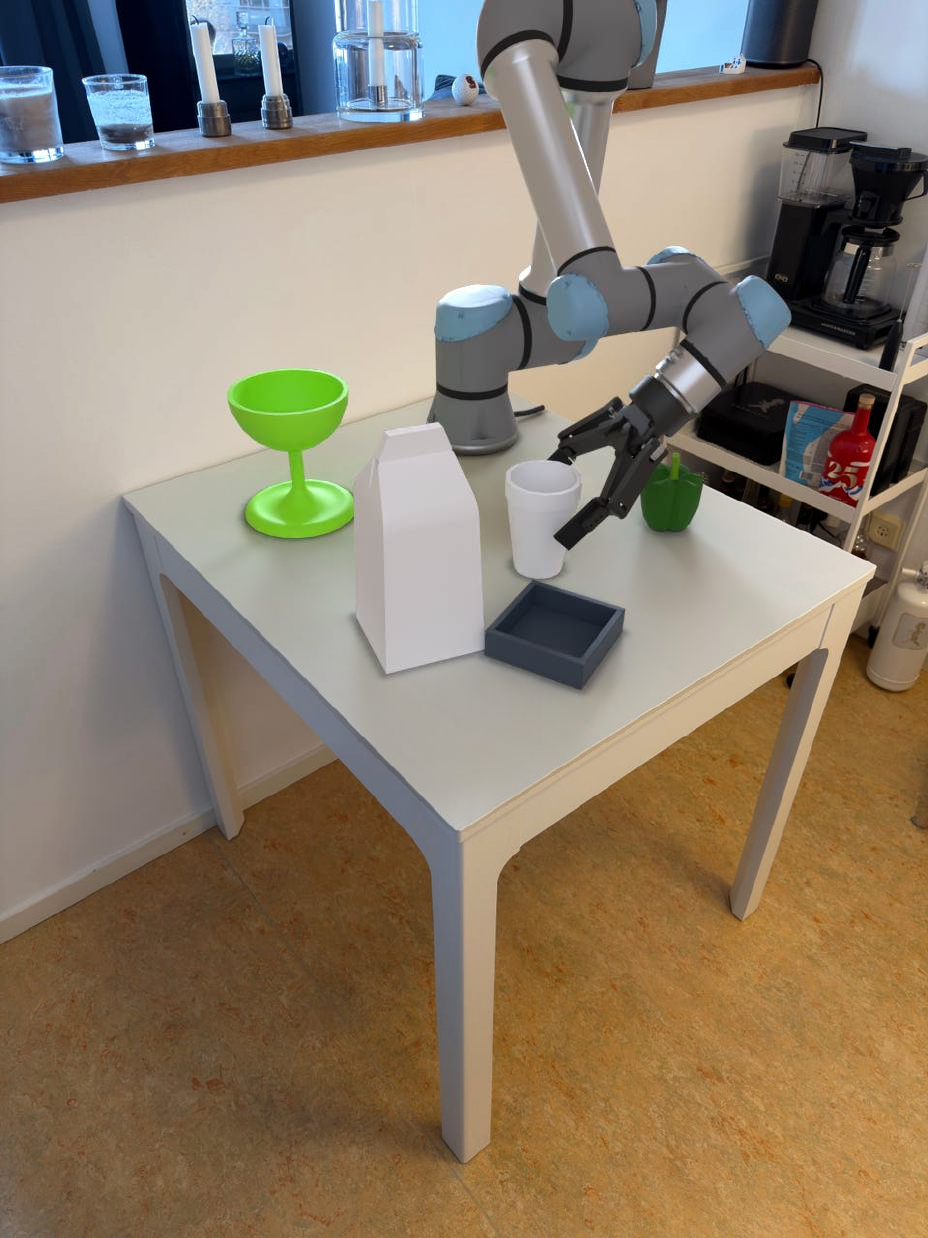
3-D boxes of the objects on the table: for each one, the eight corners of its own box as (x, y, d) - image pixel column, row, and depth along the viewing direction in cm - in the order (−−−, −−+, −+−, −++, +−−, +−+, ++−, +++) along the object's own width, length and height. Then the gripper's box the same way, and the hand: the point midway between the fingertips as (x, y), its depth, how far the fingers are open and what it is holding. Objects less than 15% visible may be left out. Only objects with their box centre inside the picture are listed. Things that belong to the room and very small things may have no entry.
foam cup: (521, 540, 123) (526, 453, 115) (584, 557, 120) (593, 469, 112) (490, 573, 116) (492, 484, 109) (555, 593, 113) (562, 502, 105)
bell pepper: (682, 545, 122) (694, 479, 116) (627, 528, 126) (636, 463, 120) (704, 519, 128) (717, 455, 122) (651, 503, 132) (660, 441, 126)
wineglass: (298, 551, 120) (283, 426, 110) (221, 512, 128) (201, 393, 118) (380, 505, 131) (373, 387, 120) (304, 473, 139) (292, 359, 128)
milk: (386, 674, 100) (374, 462, 85) (356, 617, 109) (340, 415, 93) (484, 649, 104) (491, 442, 88) (448, 596, 112) (447, 399, 97)
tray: (531, 602, 111) (532, 579, 109) (622, 632, 107) (625, 608, 105) (484, 655, 103) (484, 630, 101) (581, 690, 98) (583, 665, 96)
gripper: (617, 338, 115) (500, 455, 121) (699, 416, 96) (555, 551, 102) (650, 375, 119) (536, 486, 125) (736, 457, 100) (595, 584, 106)
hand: (544, 516), depth 114 cm, fingers open, 13 cm apart
